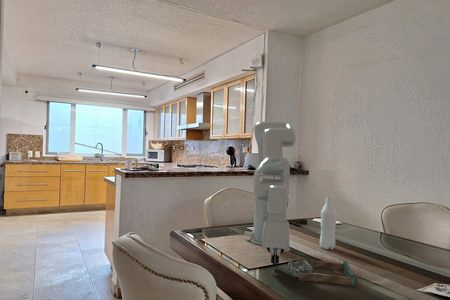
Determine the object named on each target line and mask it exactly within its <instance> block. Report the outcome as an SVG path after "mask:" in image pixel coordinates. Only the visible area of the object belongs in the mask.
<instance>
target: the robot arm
mask: <svg viewBox="0 0 450 300" xmlns="http://www.w3.org/2000/svg"><path fill="white" fill-rule="evenodd" d="M253 131H254V133H253V134H254V139H255V141H256V144H257V166H256V169H255V171H254V173H253V179H252V181H253V183H252V184H253V188H252V189H253V190H252V191H253V197H254V208H253V209H254V211H253V230H252V231H246V230H245V231H244V236H246V237H249V241H250V242H251V243H253V244H255V245H260V246H261V249H264V250H265V251H267V252H268V253H269V254H270V257H271V258H270V263H271V264H272V267H278V264H280V256H281V255H282V254H283V253H284V252H289V251H290V250H291V249H290V222H289V221H288V218H287V217H288V202H289V201H288V200H289V199H288V197H289V193H290V175H291V174H290V173H291V172H290V171H291V170H290V168H291V167H290V162H289V160H288V159H287V158H286V157H284V153H283V152H284V151H283V148H292V147H294V146H295V144H296V133H295V130H294V127H292V125H291V124H290V122H284V121H270V120H269V121H267V120H264V121H262V120H261V121H258V122H256V123H255V124H254V129H253ZM261 176H265V177H266V176H267V178H265V177H261ZM269 176H270V177H278V178H268V177H269ZM275 249H277V251H276V253H275Z"/></svg>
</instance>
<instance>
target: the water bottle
mask: <svg viewBox="0 0 450 300" xmlns="http://www.w3.org/2000/svg"><path fill="white" fill-rule="evenodd" d="M333 202H334V197H333V196H332V195H326V198H325V204H324V205H323V207H322V208H321V211H320V222H319V223H320V235H319V236H320V237H319V245H320V247H322V249H324V250H326V249H327V250H329V249H330V250H334V248H335V247H336V227H337V215H338V214H337V210H336V208H335V206H334V203H333Z"/></svg>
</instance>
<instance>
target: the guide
mask: <svg viewBox="0 0 450 300" xmlns="http://www.w3.org/2000/svg"><path fill="white" fill-rule="evenodd" d="M297 260H298V261H307V262H308V263H309V264H310V265H311V267H312V268H314V269H315V268H317V269H326V270H335V271H342V272H343V273H344V275H345V276H344V275H333V274H325V273H319V272H318V273H317V272H312V273H299V277H298V281H299V282H322V283H332V284H338V285H345V286H352V287H353V286H355V280H356V278H355V277H356V275H355V273H354V272H353V270H352V268H351V266H350V264H349V263H348V261H346V260H343V262H342V263H341V262H334V261H333V262H331V261H324V260H322V261H321V260H315V259H314V260H313V259H310V258H303V257H298V256H297V257H296V261H297Z"/></svg>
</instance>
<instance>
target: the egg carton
mask: <svg viewBox="0 0 450 300" xmlns="http://www.w3.org/2000/svg"><path fill="white" fill-rule="evenodd" d="M287 259H288V263H287V266H288V267H287V268H288V269H289V270H290V272H291V273H293V276H294V277H296V278H299V273H313V269H314V267H311V265H310V264H309V263H308V262H307V261H298V260H297V259H296V261H294V260H293V259H292V258H290V257H287Z"/></svg>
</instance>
